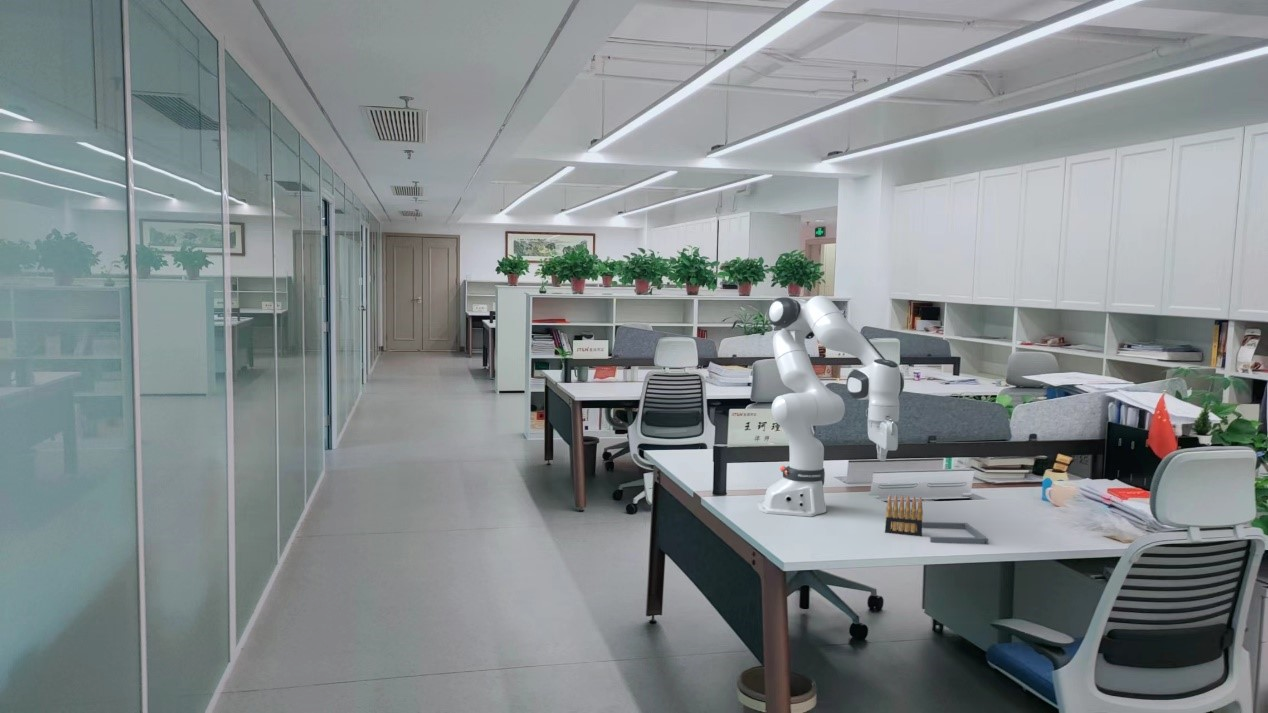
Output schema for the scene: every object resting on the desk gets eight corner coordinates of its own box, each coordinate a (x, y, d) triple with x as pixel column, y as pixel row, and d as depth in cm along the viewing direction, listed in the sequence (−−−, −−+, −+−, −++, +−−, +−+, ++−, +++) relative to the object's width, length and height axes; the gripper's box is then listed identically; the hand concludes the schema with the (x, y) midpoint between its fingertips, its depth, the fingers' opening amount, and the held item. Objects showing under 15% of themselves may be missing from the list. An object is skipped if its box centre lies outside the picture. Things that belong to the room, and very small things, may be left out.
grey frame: (930, 543, 251) (931, 537, 251) (913, 527, 268) (913, 521, 268) (987, 544, 250) (988, 538, 250) (966, 528, 267) (966, 522, 267)
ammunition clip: (921, 535, 259) (923, 496, 258) (922, 537, 257) (924, 497, 256) (884, 532, 262) (886, 493, 261) (884, 533, 260) (886, 494, 259)
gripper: (904, 419, 246) (902, 467, 247) (885, 409, 267) (883, 454, 268) (882, 419, 246) (880, 466, 247) (864, 409, 267) (862, 453, 268)
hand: (881, 460), depth 258 cm, fingers closed
